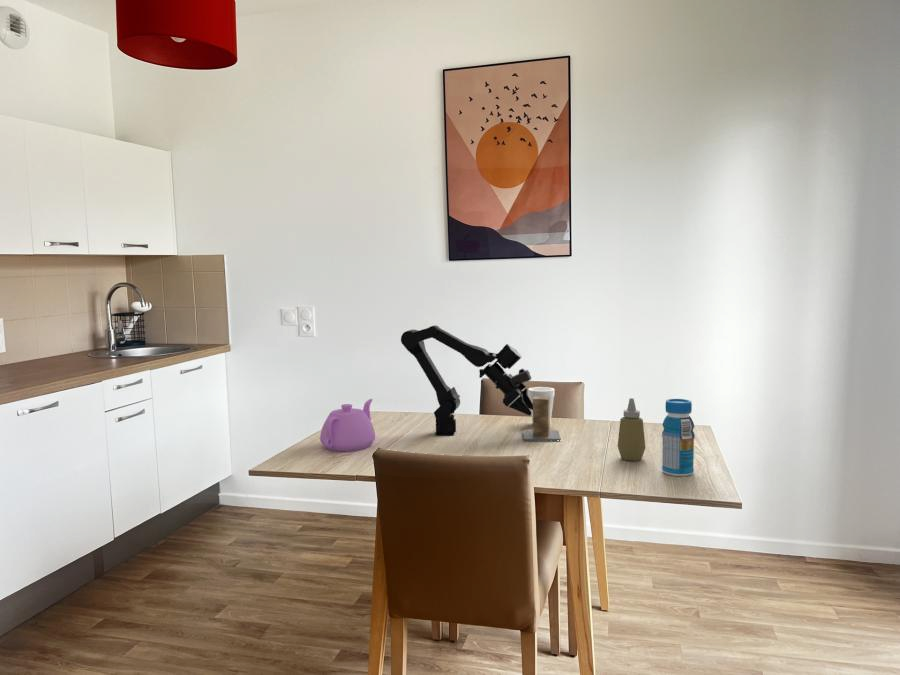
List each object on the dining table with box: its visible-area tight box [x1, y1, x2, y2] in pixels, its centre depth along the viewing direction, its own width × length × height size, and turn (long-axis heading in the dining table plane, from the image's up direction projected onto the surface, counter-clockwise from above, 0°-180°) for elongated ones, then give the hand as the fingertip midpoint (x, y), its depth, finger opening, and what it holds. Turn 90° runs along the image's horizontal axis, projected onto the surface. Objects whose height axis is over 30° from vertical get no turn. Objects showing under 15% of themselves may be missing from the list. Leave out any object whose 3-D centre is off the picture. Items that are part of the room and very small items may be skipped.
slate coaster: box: [522, 429, 562, 442], centre depth 232 cm, size 12×12×1 cm
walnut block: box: [532, 396, 551, 436], centre depth 232 cm, size 5×5×12 cm
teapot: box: [319, 398, 376, 452], centre depth 226 cm, size 25×18×14 cm
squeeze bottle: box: [617, 397, 646, 462], centre depth 203 cm, size 8×8×18 cm
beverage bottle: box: [661, 398, 696, 477], centre depth 188 cm, size 8×8×20 cm
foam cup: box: [527, 386, 556, 424], centre depth 250 cm, size 10×9×13 cm
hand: (532, 411), depth 232 cm, fingers open, 9 cm apart
